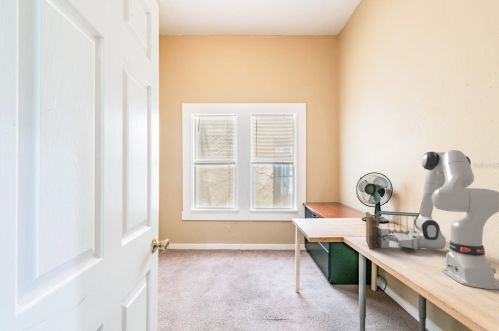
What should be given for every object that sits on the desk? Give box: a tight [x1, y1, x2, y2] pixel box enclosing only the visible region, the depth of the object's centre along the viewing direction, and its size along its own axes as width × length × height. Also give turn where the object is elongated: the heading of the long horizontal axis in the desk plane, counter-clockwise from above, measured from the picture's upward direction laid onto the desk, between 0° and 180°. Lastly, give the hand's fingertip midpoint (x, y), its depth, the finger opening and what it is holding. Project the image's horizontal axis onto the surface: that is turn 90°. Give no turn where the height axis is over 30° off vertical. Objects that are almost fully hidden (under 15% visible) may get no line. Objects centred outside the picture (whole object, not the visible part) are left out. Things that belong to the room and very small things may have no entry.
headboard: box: [365, 211, 378, 250], centre depth 168 cm, size 20×5×19 cm, turn 161°
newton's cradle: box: [375, 210, 419, 236], centre depth 185 cm, size 30×10×18 cm, turn 68°
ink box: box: [377, 225, 390, 249], centre depth 165 cm, size 9×5×12 cm, turn 178°
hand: (387, 238), depth 165 cm, fingers closed
